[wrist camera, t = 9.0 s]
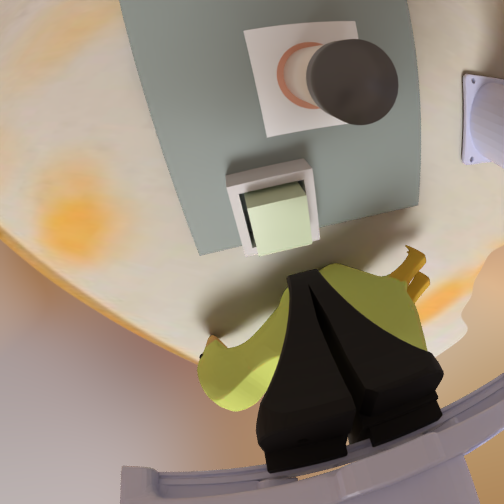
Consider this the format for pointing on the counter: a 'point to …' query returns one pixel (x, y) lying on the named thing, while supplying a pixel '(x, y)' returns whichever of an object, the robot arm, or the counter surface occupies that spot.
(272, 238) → the button
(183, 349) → the counter surface
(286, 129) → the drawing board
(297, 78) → the jar with dark lid
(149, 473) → the robot arm
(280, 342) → the toy
